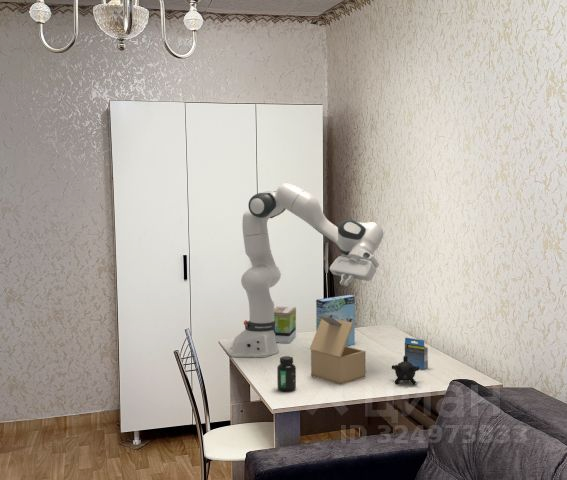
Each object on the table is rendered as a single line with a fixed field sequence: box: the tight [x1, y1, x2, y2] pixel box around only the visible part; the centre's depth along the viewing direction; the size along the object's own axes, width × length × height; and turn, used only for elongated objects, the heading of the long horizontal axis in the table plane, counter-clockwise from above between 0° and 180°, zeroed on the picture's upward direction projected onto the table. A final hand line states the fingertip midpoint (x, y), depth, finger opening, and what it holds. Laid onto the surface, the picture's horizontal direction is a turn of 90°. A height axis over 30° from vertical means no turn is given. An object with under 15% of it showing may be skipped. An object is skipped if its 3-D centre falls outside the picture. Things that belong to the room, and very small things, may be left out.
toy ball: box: [391, 355, 420, 385], centre depth 270 cm, size 11×11×12 cm
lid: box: [309, 314, 354, 357], centre depth 273 cm, size 14×16×9 cm
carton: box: [310, 346, 367, 386], centre depth 279 cm, size 14×16×10 cm
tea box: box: [274, 306, 297, 344], centre depth 341 cm, size 15×10×15 cm, turn 168°
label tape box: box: [404, 337, 429, 370], centre depth 291 cm, size 9×4×12 cm, turn 56°
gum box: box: [315, 294, 356, 347], centre depth 325 cm, size 20×5×23 cm, turn 126°
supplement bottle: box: [276, 355, 297, 393], centre depth 264 cm, size 7×7×12 cm
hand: (343, 284), depth 283 cm, fingers closed
